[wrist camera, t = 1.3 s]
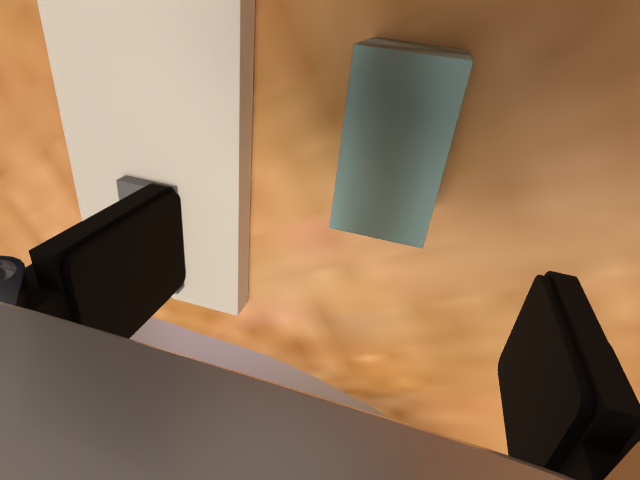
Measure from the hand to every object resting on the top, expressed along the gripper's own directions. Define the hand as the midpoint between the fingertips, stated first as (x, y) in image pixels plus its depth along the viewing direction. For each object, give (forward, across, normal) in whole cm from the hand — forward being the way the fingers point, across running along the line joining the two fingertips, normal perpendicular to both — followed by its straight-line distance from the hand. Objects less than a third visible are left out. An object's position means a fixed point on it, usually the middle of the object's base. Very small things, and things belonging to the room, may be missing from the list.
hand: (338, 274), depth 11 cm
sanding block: (+16, 0, 0) cm, 16 cm away
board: (+16, +16, +4) cm, 23 cm away
